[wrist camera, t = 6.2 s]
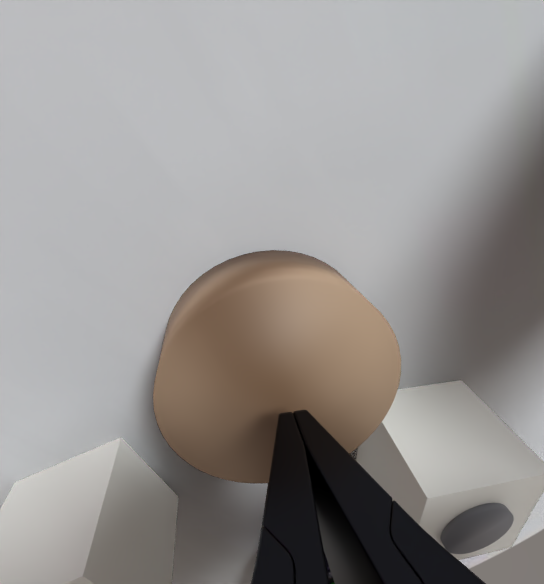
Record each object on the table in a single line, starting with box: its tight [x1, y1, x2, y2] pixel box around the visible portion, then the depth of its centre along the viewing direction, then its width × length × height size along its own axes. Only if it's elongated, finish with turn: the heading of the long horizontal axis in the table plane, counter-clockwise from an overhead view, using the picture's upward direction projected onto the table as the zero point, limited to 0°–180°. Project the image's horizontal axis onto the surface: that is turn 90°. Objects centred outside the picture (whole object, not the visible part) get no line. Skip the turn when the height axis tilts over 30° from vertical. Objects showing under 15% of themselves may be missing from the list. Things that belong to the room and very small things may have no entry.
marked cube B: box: [0, 437, 179, 584], centre depth 13 cm, size 5×5×5 cm
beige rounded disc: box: [153, 250, 401, 483], centre depth 12 cm, size 8×8×3 cm
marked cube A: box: [356, 380, 544, 560], centre depth 15 cm, size 5×5×5 cm
